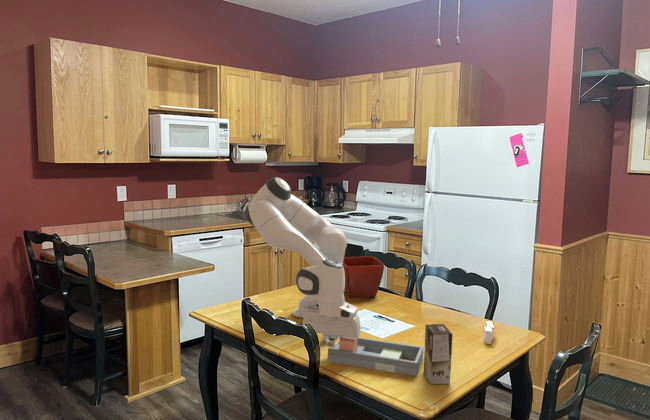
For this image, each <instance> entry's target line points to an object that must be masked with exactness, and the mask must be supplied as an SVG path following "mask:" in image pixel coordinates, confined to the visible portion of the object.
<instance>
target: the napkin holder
mask: <svg viewBox="0 0 650 420" xmlns="http://www.w3.org/2000/svg"><path fill="white" fill-rule="evenodd" d="M483 330H484V332H483V340H484V343H485V344H489V345H490V344H492V341H493V340H494V335H495V334H494V333H495V327H494V324H493V321H490V320H489V321H488V320H485V326H484V329H483Z"/></svg>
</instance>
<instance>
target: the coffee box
mask: <svg viewBox="0 0 650 420" xmlns="http://www.w3.org/2000/svg"><path fill="white" fill-rule="evenodd" d="M424 326H425V328H424V329H425V330H424V350H423V373H424V375H425V377H426V378H427V380H428V382H429V383H430V385H449V384H451V371H452V369H451V368H452V355H453V353H452V351H453V350H452V348H453V333H452V332H451V331H450V330H449V328H448V327H447V326H446V325H445V324H444V323H433V324H432V323H431V324H425V325H424Z"/></svg>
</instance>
